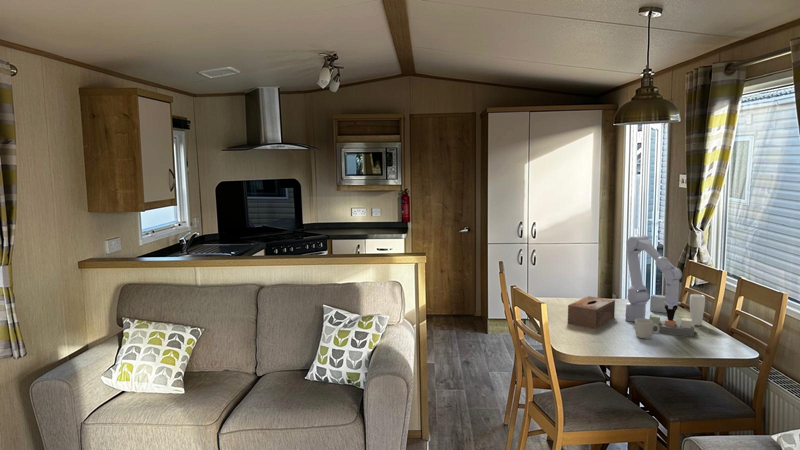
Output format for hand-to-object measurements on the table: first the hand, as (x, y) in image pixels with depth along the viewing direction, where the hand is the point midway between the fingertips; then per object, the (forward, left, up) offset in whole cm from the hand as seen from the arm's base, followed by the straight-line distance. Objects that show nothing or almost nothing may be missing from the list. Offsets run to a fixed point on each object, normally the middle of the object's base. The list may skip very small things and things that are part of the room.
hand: (670, 320), depth 277 cm
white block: (+7, 0, -3) cm, 8 cm away
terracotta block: (0, 0, -4) cm, 4 cm away
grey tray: (0, 0, -5) cm, 5 cm away
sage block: (-7, 0, -3) cm, 7 cm away
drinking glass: (+11, +18, -5) cm, 22 cm away
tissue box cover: (-37, 0, -6) cm, 38 cm away
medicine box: (-8, +37, -6) cm, 38 cm away
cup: (-9, -17, -6) cm, 20 cm away
